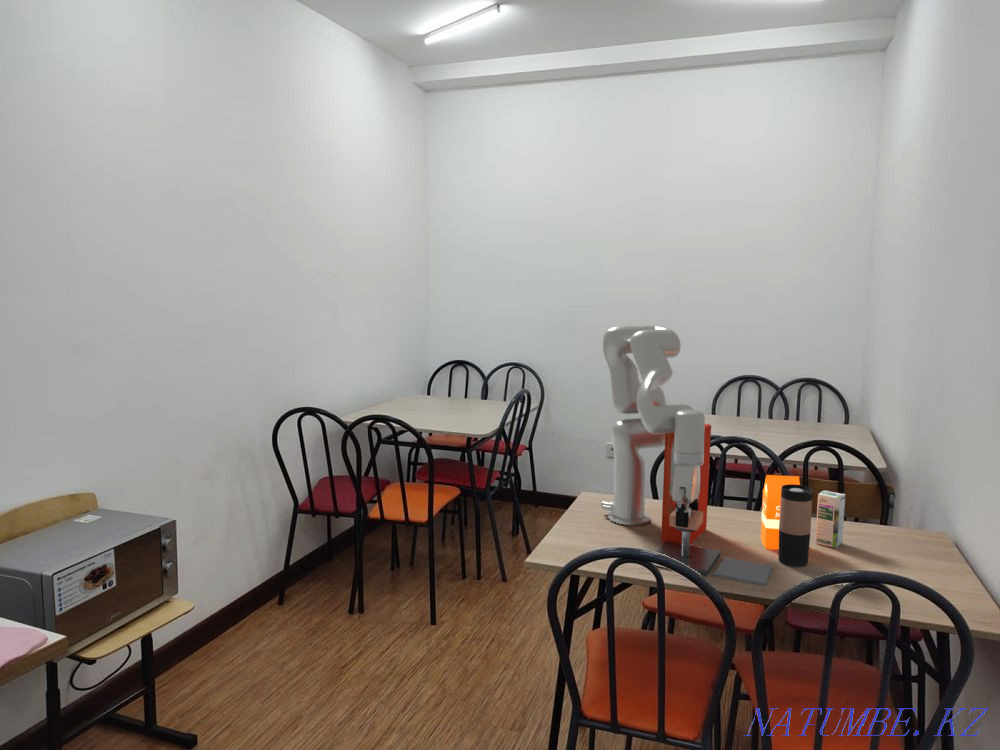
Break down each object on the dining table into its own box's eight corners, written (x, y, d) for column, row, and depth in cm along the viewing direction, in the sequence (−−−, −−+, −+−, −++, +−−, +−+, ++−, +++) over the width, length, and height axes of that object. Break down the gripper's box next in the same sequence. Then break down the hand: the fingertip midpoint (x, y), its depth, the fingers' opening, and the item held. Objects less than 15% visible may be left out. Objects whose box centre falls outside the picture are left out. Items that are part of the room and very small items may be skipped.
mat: (714, 575, 177) (714, 573, 177) (724, 559, 188) (724, 557, 187) (764, 585, 171) (764, 583, 171) (772, 568, 182) (772, 565, 182)
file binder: (707, 529, 210) (711, 424, 205) (689, 548, 195) (693, 435, 191) (680, 524, 214) (684, 421, 210) (661, 542, 200) (664, 432, 195)
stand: (648, 564, 184) (650, 511, 182) (665, 546, 197) (666, 495, 195) (706, 576, 177) (709, 520, 175) (720, 556, 190) (722, 504, 188)
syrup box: (814, 543, 198) (817, 493, 197) (821, 538, 203) (824, 489, 201) (835, 548, 195) (839, 498, 193) (842, 543, 199) (846, 493, 197)
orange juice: (798, 551, 193) (802, 480, 190) (764, 549, 195) (768, 478, 192) (792, 541, 201) (796, 472, 198) (760, 538, 202) (763, 471, 200)
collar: (669, 526, 184) (669, 514, 184) (676, 518, 190) (677, 507, 190) (696, 530, 181) (696, 519, 180) (703, 522, 187) (703, 511, 186)
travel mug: (773, 556, 190) (776, 484, 187) (801, 556, 189) (805, 484, 187) (783, 567, 182) (787, 492, 179) (813, 567, 182) (817, 492, 179)
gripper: (683, 449, 192) (681, 510, 194) (664, 463, 177) (663, 528, 179) (711, 452, 189) (709, 514, 191) (694, 466, 174) (692, 533, 176)
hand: (686, 521), depth 185 cm, fingers open, 9 cm apart
